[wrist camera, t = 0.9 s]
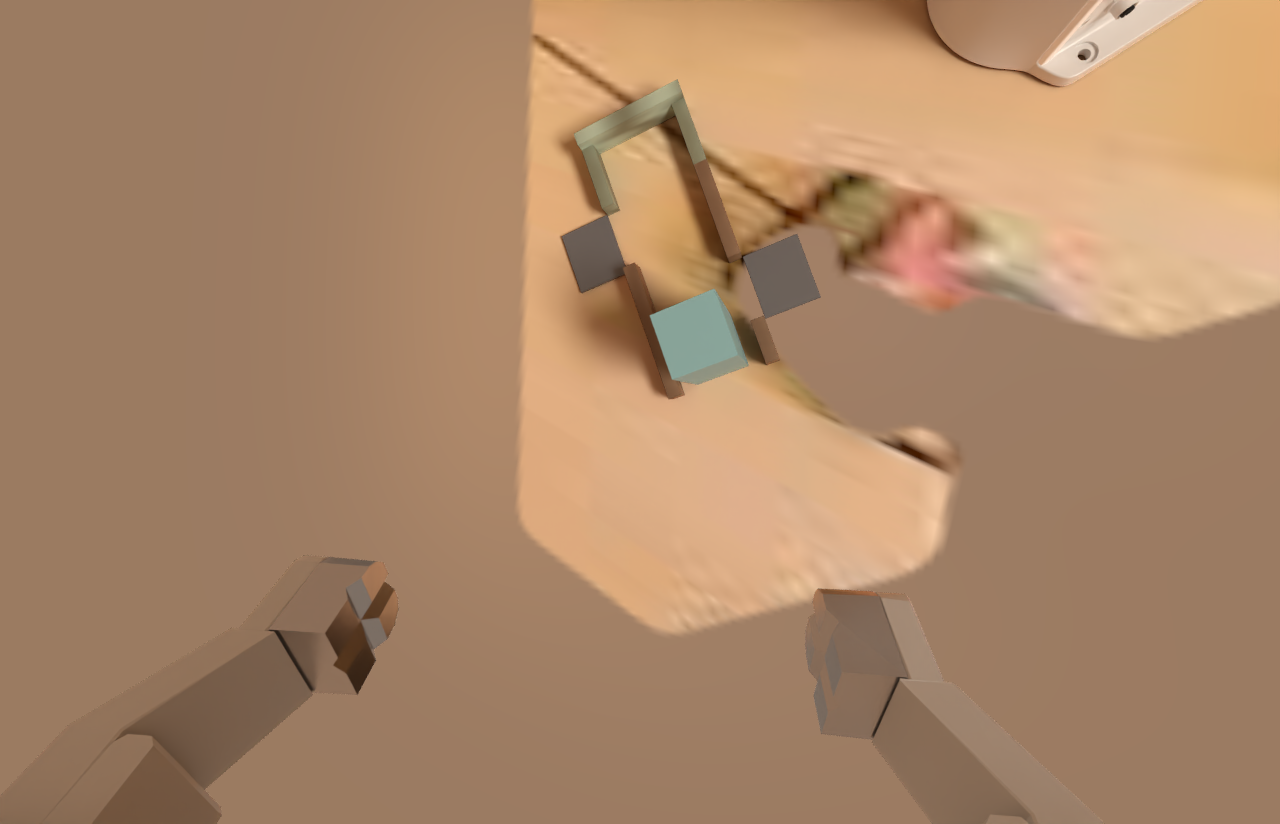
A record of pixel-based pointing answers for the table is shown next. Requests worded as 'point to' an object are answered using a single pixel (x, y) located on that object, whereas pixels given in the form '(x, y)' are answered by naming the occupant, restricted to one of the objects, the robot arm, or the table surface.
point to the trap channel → (771, 268)
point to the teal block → (699, 339)
